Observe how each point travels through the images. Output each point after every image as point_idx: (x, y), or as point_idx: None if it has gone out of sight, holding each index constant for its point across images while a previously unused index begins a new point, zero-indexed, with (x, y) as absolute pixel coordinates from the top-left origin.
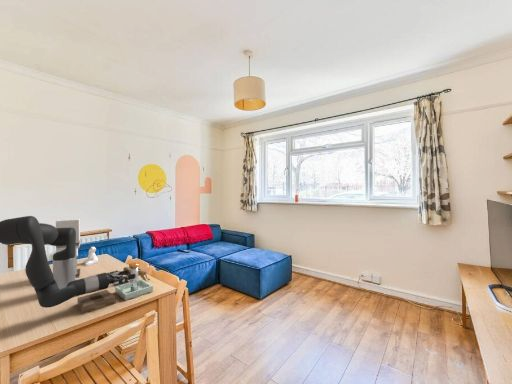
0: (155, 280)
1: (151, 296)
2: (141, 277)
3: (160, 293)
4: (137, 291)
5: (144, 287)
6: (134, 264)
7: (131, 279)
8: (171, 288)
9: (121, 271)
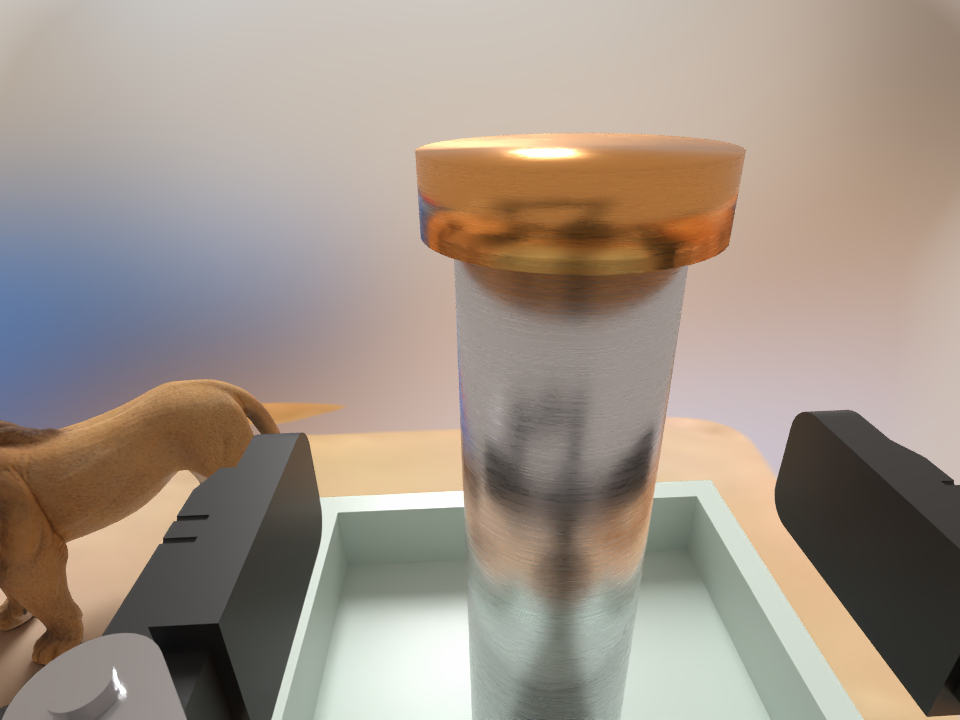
0: (362, 442)
1: None
2: None
3: None
4: (847, 712)
5: None
6: (636, 146)
7: (608, 601)
8: (701, 419)
9: (198, 610)
